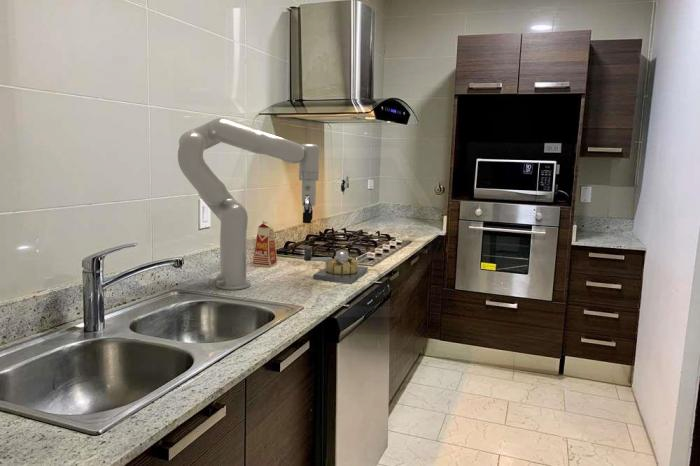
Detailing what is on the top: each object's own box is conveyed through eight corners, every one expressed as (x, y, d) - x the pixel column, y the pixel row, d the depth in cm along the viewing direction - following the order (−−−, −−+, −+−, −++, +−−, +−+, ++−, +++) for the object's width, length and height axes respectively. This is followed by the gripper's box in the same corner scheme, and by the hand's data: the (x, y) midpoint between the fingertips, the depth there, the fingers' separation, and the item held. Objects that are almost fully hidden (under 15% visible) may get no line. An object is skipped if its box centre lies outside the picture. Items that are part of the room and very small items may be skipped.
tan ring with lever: (352, 265, 224) (353, 243, 222) (361, 273, 211) (362, 249, 210) (300, 267, 217) (301, 244, 216) (307, 275, 205) (307, 251, 203)
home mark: (327, 270, 223) (327, 269, 223) (324, 271, 222) (324, 270, 222) (318, 267, 227) (318, 267, 227) (315, 268, 226) (315, 267, 226)
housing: (350, 284, 203) (351, 259, 201) (313, 279, 208) (313, 255, 207) (367, 271, 224) (368, 249, 222) (333, 267, 229) (333, 245, 227)
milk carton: (271, 267, 225) (271, 222, 221) (251, 265, 227) (251, 220, 223) (278, 263, 234) (278, 219, 230) (258, 261, 235) (259, 218, 232)
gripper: (317, 178, 190) (316, 225, 193) (319, 175, 208) (318, 218, 211) (297, 177, 190) (296, 224, 193) (300, 174, 207) (299, 217, 210)
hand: (307, 221), depth 202 cm, fingers open, 8 cm apart
